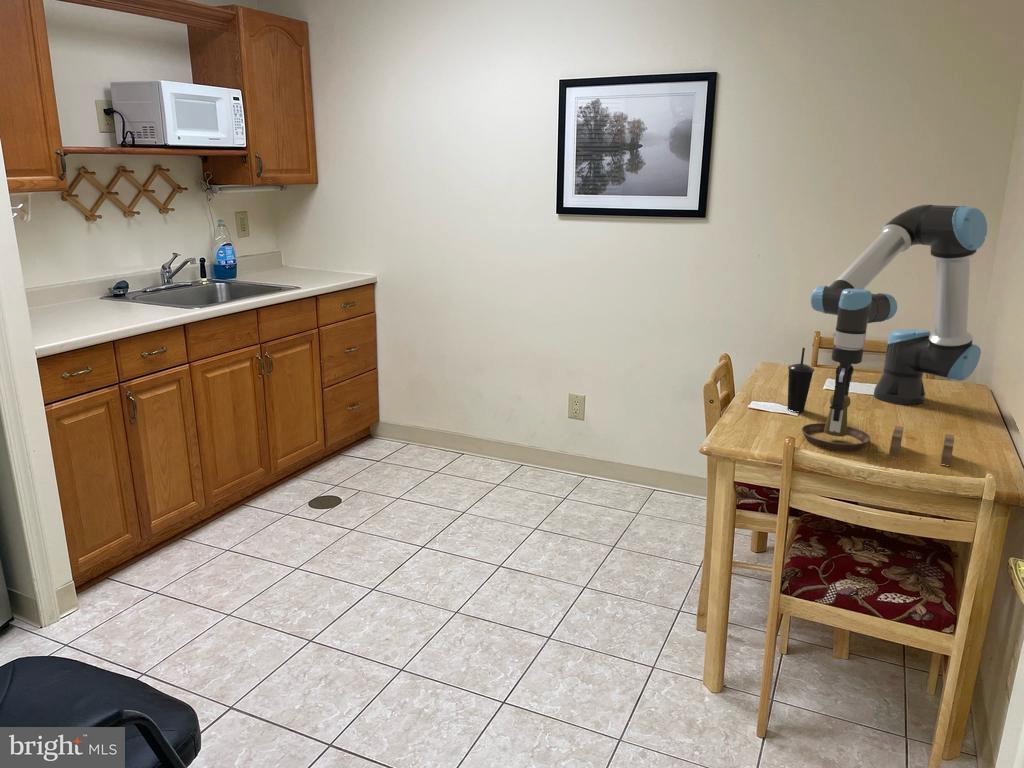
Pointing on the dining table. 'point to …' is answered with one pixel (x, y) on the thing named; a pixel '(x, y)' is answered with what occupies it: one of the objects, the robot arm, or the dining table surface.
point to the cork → (844, 419)
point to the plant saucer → (838, 446)
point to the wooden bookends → (945, 452)
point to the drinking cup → (799, 384)
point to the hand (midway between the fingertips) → (836, 428)
